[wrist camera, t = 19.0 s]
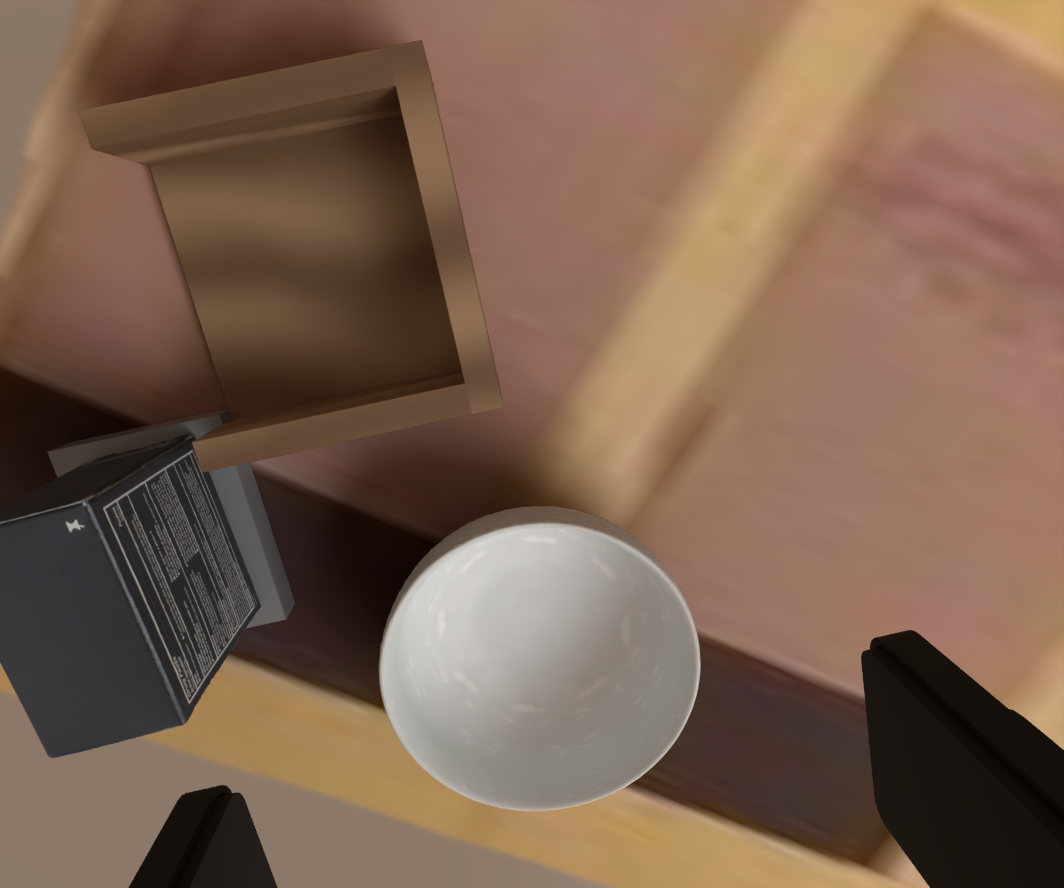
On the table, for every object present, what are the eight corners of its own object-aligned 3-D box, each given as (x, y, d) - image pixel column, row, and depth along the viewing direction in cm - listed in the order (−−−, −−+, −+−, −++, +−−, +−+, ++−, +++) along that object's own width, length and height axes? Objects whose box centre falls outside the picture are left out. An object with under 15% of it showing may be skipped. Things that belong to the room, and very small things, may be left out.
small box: (74, 462, 37) (-80, 537, 27) (196, 430, 37) (88, 492, 27) (152, 638, 39) (39, 767, 29) (265, 608, 40) (192, 726, 29)
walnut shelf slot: (144, 136, 35) (78, 110, 29) (431, 76, 35) (421, 39, 30) (243, 442, 39) (202, 472, 33) (499, 386, 39) (503, 407, 34)
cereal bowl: (345, 543, 41) (318, 599, 34) (611, 435, 41) (638, 469, 34) (461, 771, 45) (458, 860, 39) (703, 675, 45) (744, 748, 38)
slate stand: (68, 442, 38) (47, 451, 37) (232, 407, 39) (219, 414, 37) (144, 636, 42) (127, 654, 40) (295, 602, 42) (286, 619, 40)
